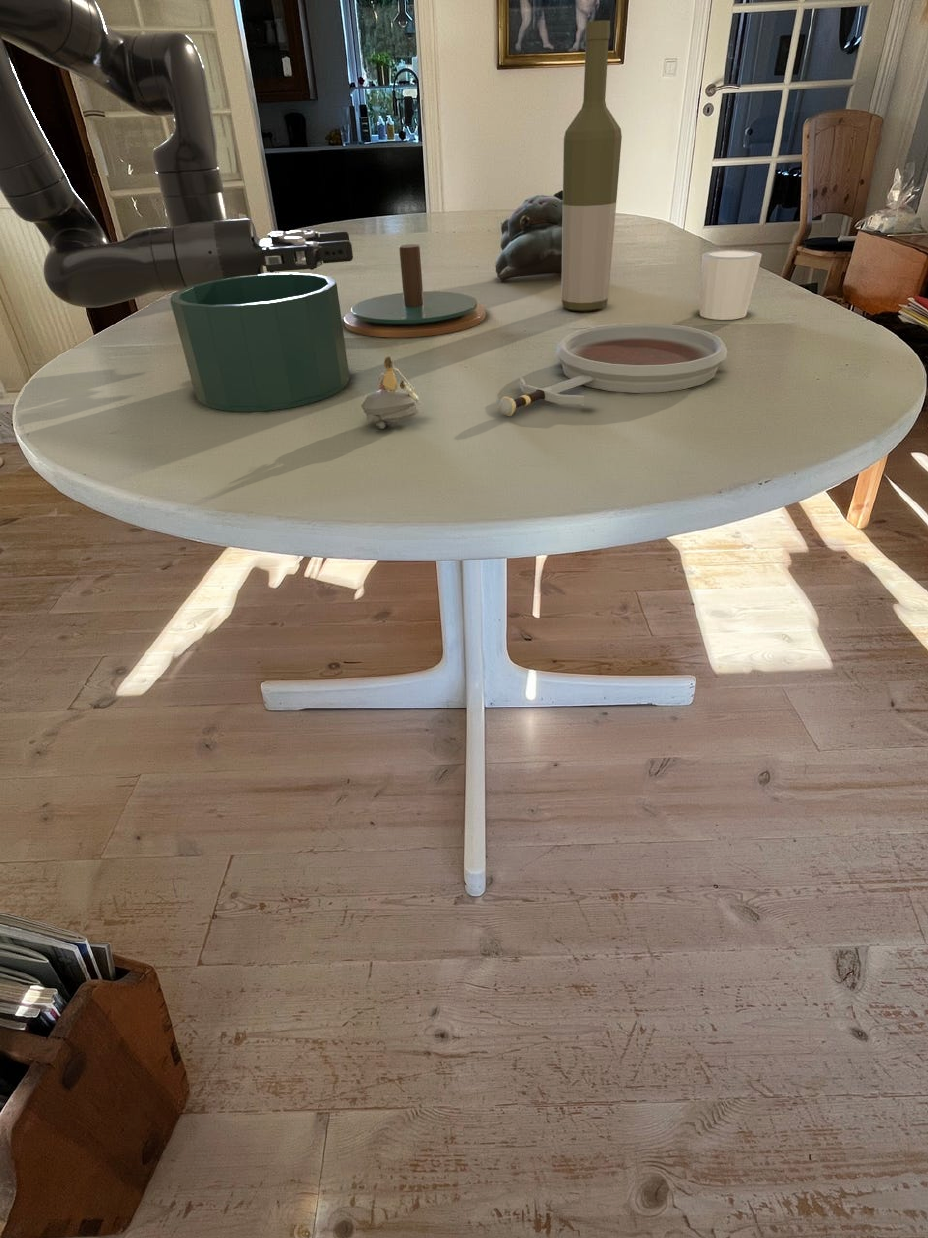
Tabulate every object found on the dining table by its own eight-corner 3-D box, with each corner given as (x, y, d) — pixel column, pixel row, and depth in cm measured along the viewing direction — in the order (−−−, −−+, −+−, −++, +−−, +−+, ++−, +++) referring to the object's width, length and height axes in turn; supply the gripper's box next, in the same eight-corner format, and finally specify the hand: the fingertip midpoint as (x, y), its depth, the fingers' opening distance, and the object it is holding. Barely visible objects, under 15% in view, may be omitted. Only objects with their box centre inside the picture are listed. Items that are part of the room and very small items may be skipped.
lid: (326, 322, 93) (316, 254, 89) (398, 296, 105) (392, 234, 100) (434, 333, 86) (429, 259, 81) (499, 303, 98) (498, 237, 93)
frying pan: (439, 373, 68) (626, 311, 82) (441, 403, 69) (625, 337, 83) (573, 414, 57) (763, 335, 71) (572, 449, 59) (758, 365, 73)
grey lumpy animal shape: (479, 282, 114) (476, 190, 112) (520, 300, 123) (517, 216, 122) (561, 256, 105) (558, 156, 103) (598, 278, 114) (596, 186, 113)
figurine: (366, 434, 62) (356, 364, 58) (362, 417, 65) (353, 350, 62) (425, 427, 63) (420, 357, 59) (418, 411, 66) (413, 344, 63)
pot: (164, 399, 73) (135, 299, 67) (270, 358, 83) (252, 269, 78) (279, 420, 66) (257, 311, 60) (378, 373, 77) (367, 277, 71)
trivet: (315, 330, 94) (314, 323, 93) (397, 299, 107) (396, 294, 106) (437, 343, 85) (437, 336, 85) (510, 308, 99) (510, 302, 98)
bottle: (586, 316, 93) (601, 16, 75) (547, 309, 97) (553, 24, 80) (621, 306, 96) (643, 18, 79) (581, 299, 101) (594, 25, 83)
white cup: (683, 312, 92) (690, 252, 88) (726, 305, 94) (735, 246, 90) (718, 323, 87) (728, 260, 83) (763, 315, 89) (774, 253, 85)
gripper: (205, 228, 80) (349, 217, 82) (218, 214, 92) (344, 205, 94) (221, 300, 85) (357, 288, 86) (232, 277, 96) (352, 267, 98)
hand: (350, 245), depth 90 cm, fingers open, 8 cm apart
